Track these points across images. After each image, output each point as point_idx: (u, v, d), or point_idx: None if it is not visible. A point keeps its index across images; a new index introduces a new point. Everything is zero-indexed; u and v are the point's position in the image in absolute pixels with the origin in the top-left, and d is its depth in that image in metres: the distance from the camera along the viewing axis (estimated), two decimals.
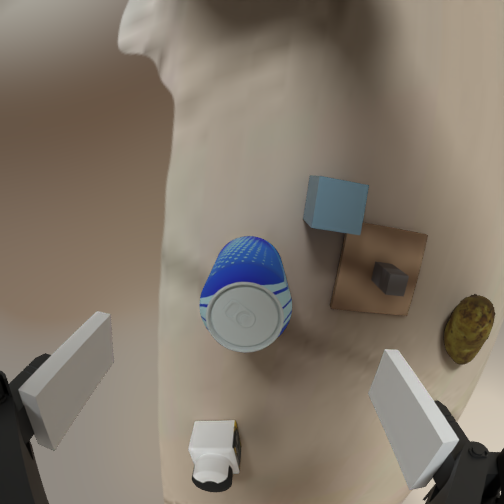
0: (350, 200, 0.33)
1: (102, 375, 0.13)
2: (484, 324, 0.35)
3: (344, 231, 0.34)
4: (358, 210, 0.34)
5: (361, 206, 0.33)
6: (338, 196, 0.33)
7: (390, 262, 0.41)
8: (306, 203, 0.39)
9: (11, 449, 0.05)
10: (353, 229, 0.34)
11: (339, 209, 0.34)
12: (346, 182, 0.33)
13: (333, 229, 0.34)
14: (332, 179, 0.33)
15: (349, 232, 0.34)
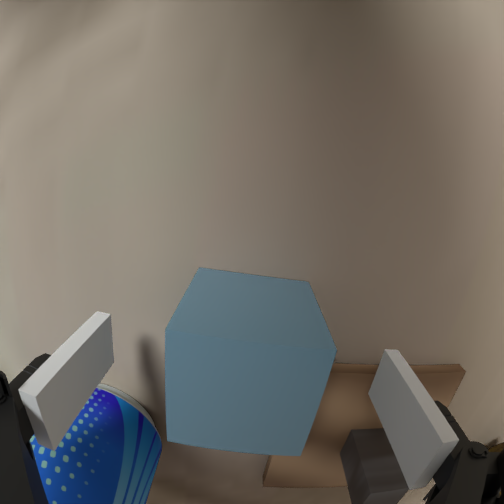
0: (272, 392, 0.11)
1: (102, 375, 0.13)
2: None
3: (256, 451, 0.11)
4: (297, 412, 0.11)
5: (307, 404, 0.11)
6: (231, 384, 0.10)
7: (382, 426, 0.18)
8: None
9: (11, 449, 0.05)
10: (281, 447, 0.11)
11: (238, 412, 0.11)
12: (257, 347, 0.10)
13: (225, 448, 0.11)
14: (208, 339, 0.10)
15: (270, 453, 0.11)
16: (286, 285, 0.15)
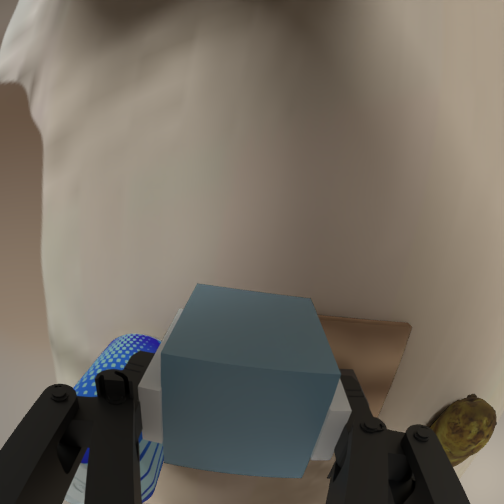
0: (272, 417, 0.10)
1: None
2: (479, 441, 0.22)
3: (256, 473, 0.11)
4: (299, 436, 0.10)
5: (309, 428, 0.10)
6: (230, 409, 0.10)
7: (350, 367, 0.27)
8: None
9: (122, 451, 0.07)
10: (282, 470, 0.10)
11: (237, 436, 0.10)
12: (257, 372, 0.09)
13: (224, 470, 0.11)
14: (206, 364, 0.09)
15: (270, 475, 0.11)
16: (287, 302, 0.15)
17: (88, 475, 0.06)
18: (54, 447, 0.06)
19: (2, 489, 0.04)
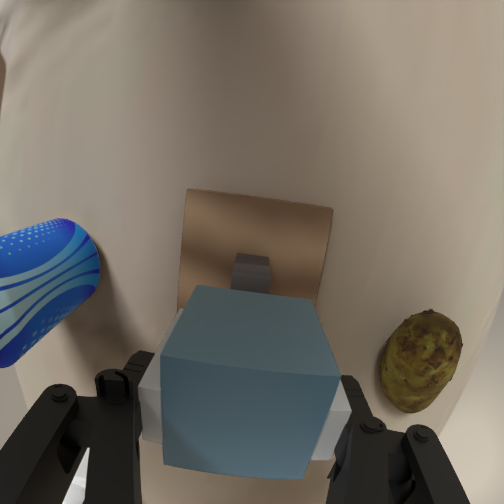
0: (272, 419, 0.10)
1: None
2: (440, 364, 0.22)
3: (256, 475, 0.10)
4: (299, 438, 0.10)
5: (309, 430, 0.10)
6: (230, 411, 0.10)
7: (264, 254, 0.27)
8: None
9: (121, 451, 0.07)
10: (282, 472, 0.10)
11: (237, 438, 0.10)
12: (257, 374, 0.09)
13: (224, 472, 0.10)
14: (206, 366, 0.09)
15: (270, 477, 0.10)
16: (287, 303, 0.15)
17: (88, 475, 0.06)
18: (54, 447, 0.06)
19: (2, 489, 0.04)
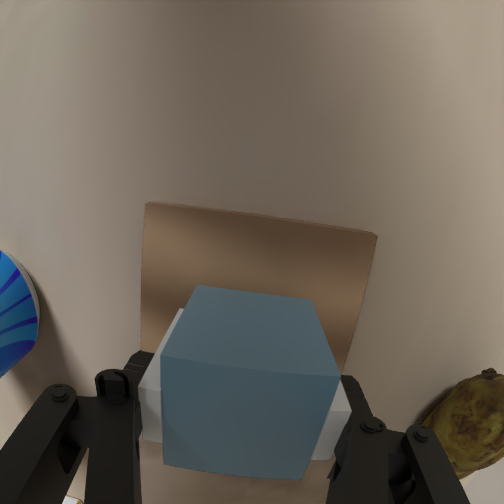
0: (272, 418, 0.10)
1: None
2: (503, 447, 0.12)
3: (256, 475, 0.11)
4: (299, 438, 0.10)
5: (309, 430, 0.10)
6: (230, 411, 0.10)
7: None
8: None
9: (122, 451, 0.07)
10: (282, 471, 0.10)
11: (237, 438, 0.10)
12: (257, 374, 0.09)
13: (224, 471, 0.10)
14: (206, 366, 0.09)
15: (270, 476, 0.11)
16: (287, 303, 0.15)
17: (88, 475, 0.06)
18: (54, 447, 0.06)
19: (2, 489, 0.04)
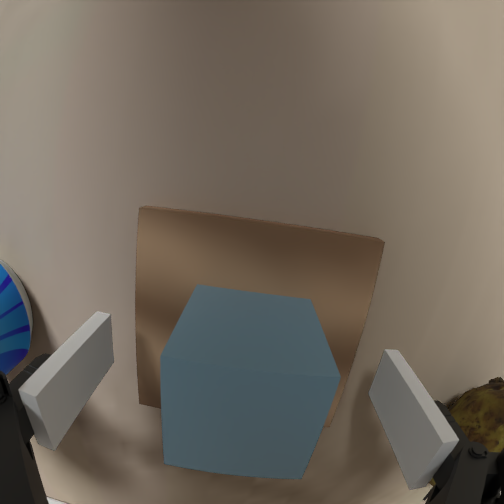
0: (272, 419, 0.10)
1: (102, 375, 0.13)
2: None
3: (256, 475, 0.11)
4: (298, 438, 0.10)
5: (309, 430, 0.10)
6: (230, 411, 0.10)
7: None
8: None
9: (11, 449, 0.05)
10: (282, 471, 0.10)
11: (237, 438, 0.10)
12: (257, 375, 0.09)
13: (224, 471, 0.11)
14: (206, 366, 0.09)
15: (270, 476, 0.11)
16: (287, 303, 0.15)
17: None
18: None
19: None
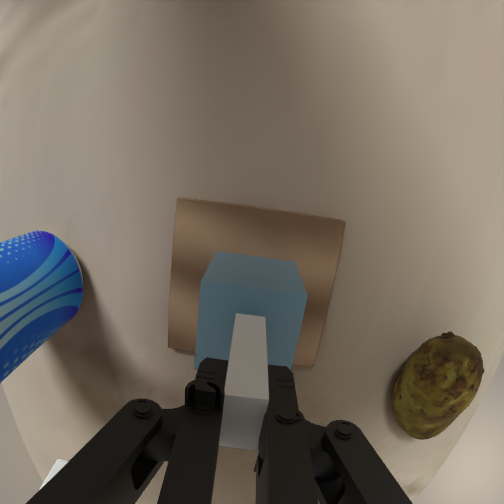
0: (267, 324, 0.17)
1: None
2: (460, 394, 0.18)
3: None
4: (284, 341, 0.17)
5: (290, 334, 0.17)
6: None
7: None
8: None
9: (204, 463, 0.07)
10: None
11: None
12: (258, 291, 0.17)
13: None
14: (227, 286, 0.17)
15: None
16: (277, 262, 0.22)
17: (164, 483, 0.06)
18: (129, 465, 0.07)
19: None
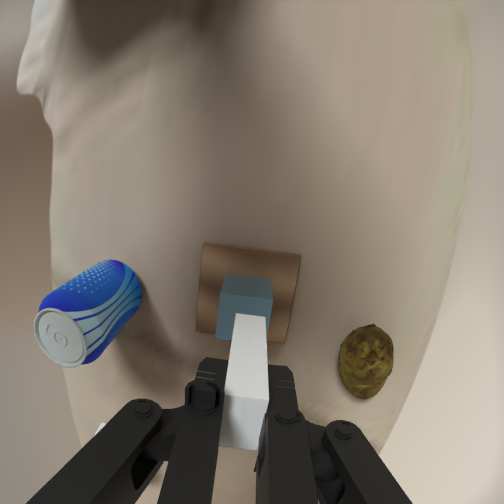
0: (253, 314, 0.34)
1: None
2: (374, 362, 0.35)
3: None
4: None
5: (265, 319, 0.34)
6: (240, 311, 0.34)
7: None
8: None
9: (204, 463, 0.07)
10: None
11: None
12: (248, 298, 0.34)
13: None
14: (233, 295, 0.34)
15: None
16: (260, 280, 0.39)
17: (164, 483, 0.06)
18: (129, 465, 0.07)
19: (63, 503, 0.04)
